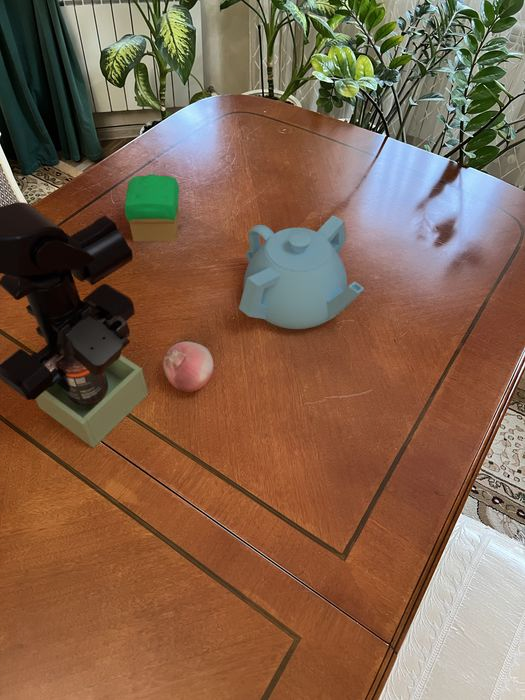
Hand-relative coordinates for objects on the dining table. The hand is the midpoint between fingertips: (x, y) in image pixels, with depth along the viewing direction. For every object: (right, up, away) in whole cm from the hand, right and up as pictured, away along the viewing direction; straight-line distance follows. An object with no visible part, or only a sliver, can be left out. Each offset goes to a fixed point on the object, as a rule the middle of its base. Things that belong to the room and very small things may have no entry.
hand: (83, 375), depth 81 cm
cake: (+5, +28, +31) cm, 42 cm away
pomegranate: (+14, -1, +9) cm, 17 cm away
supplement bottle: (0, -2, +3) cm, 4 cm away
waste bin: (0, -4, +6) cm, 7 cm away
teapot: (+32, +12, +19) cm, 39 cm away
